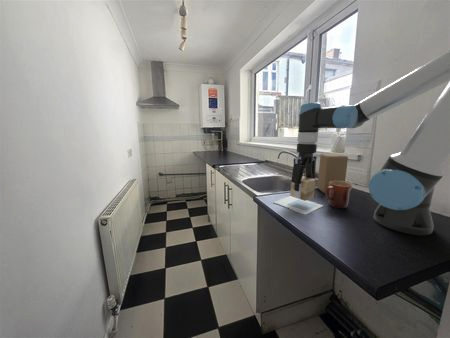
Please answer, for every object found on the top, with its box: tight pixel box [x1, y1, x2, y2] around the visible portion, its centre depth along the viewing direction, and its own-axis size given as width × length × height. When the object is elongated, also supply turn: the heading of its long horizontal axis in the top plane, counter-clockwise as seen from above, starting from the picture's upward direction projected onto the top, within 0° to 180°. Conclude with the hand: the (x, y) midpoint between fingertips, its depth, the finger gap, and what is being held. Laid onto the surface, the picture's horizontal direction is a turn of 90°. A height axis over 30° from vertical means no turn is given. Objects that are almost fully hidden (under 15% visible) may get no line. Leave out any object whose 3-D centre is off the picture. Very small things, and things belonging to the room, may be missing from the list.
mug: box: [325, 181, 354, 209], centre depth 80 cm, size 12×9×10 cm
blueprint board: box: [273, 195, 324, 216], centre depth 83 cm, size 16×14×1 cm
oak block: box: [289, 175, 317, 201], centre depth 80 cm, size 7×7×8 cm
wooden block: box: [316, 153, 349, 195], centre depth 98 cm, size 10×10×20 cm
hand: (302, 195), depth 81 cm, fingers closed on oak block, 7 cm apart
